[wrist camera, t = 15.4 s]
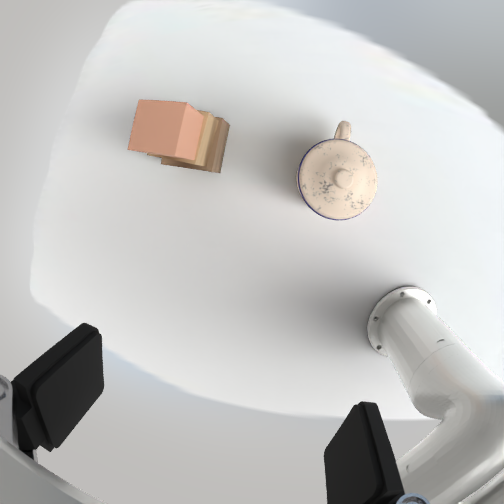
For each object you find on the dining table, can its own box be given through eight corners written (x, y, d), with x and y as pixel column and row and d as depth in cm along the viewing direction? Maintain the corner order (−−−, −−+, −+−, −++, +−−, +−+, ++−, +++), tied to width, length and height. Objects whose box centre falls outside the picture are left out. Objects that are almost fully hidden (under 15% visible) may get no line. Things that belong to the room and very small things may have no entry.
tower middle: (218, 121, 33) (209, 112, 29) (206, 166, 35) (195, 164, 30) (175, 113, 34) (160, 105, 29) (163, 157, 35) (147, 155, 30)
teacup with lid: (350, 219, 39) (375, 233, 28) (288, 204, 40) (290, 212, 29) (367, 137, 36) (397, 123, 25) (305, 121, 37) (314, 98, 26)
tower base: (229, 125, 38) (222, 118, 33) (220, 172, 40) (211, 171, 35) (183, 119, 38) (171, 112, 34) (174, 165, 40) (160, 164, 35)
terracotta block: (204, 116, 29) (186, 102, 23) (194, 160, 30) (174, 155, 24) (162, 112, 29) (139, 99, 23) (153, 154, 30) (127, 149, 24)
